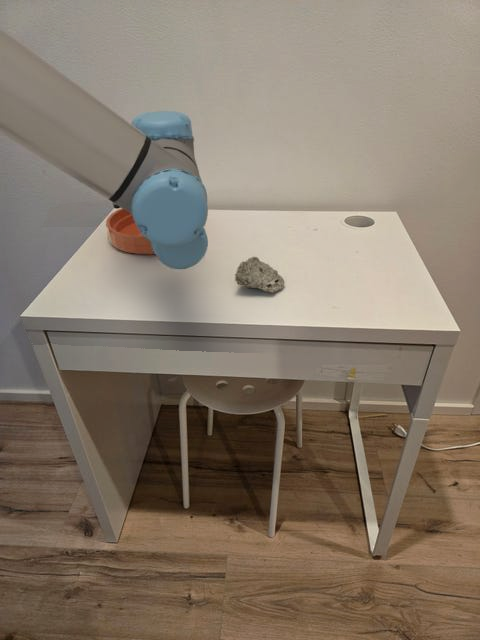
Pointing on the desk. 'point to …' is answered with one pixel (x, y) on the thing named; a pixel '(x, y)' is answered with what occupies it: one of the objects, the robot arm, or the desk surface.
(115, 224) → the bowl
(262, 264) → the rock sample
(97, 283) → the desk surface
